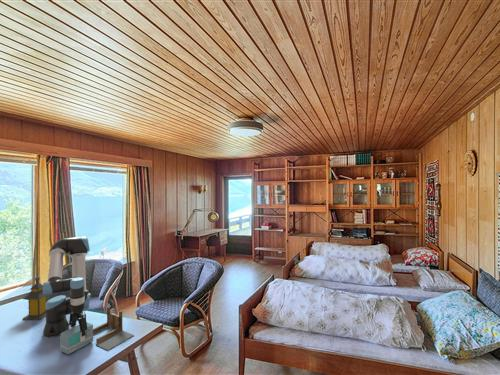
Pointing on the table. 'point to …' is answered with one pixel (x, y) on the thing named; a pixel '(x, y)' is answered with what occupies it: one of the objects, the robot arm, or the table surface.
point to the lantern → (36, 302)
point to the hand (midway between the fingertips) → (78, 338)
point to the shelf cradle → (110, 325)
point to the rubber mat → (114, 340)
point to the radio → (75, 338)
